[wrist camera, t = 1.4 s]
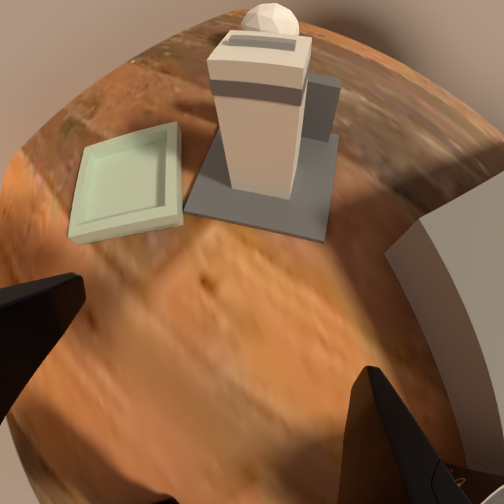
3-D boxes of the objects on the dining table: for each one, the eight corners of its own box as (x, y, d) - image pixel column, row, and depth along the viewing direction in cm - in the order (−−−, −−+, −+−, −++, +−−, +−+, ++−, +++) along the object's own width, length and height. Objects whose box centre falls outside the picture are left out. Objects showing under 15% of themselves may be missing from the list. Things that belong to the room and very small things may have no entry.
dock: (323, 243, 23) (345, 195, 16) (184, 213, 24) (157, 161, 17) (338, 138, 27) (352, 81, 19) (225, 118, 28) (216, 62, 21)
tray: (183, 225, 24) (177, 214, 22) (78, 245, 24) (67, 237, 22) (181, 133, 28) (177, 120, 26) (92, 157, 28) (84, 147, 26)
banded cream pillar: (289, 200, 24) (305, 60, 11) (231, 188, 24) (204, 52, 12) (297, 163, 25) (313, 30, 12) (244, 153, 26) (229, 23, 13)
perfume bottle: (320, 32, 30) (266, 68, 28) (284, 42, 36) (233, 79, 35) (291, -11, 25) (229, 19, 23) (257, 6, 31) (201, 39, 30)
